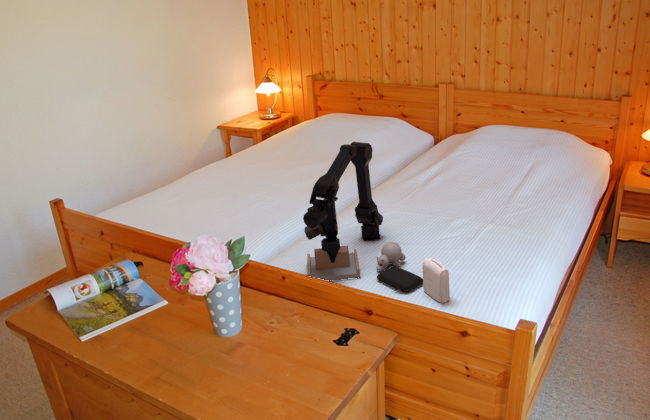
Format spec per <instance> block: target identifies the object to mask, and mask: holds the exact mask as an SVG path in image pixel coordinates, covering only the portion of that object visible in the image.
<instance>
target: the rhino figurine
mask: <svg viewBox="0 0 650 420" xmlns="http://www.w3.org/2000/svg"><path fill="white" fill-rule="evenodd" d="M380 254H381V255H380V256H377V255H376V256H375V258H376V262H377V265H376V266H375V268H376V270H377V271H378V272H380V271H381V272H382V271H384V270H386V268H387V266H389V265H391V263H392V266H398V267H400V265H401V262H402V261H403V262H404V261H405V260H406V258H407V257H406V255H405V254H404V253H403V252H402V248H401V246H400V245H399V243H397V242H395V241H388V242H386V243H384V244H383V245H382V247H381V250H380ZM381 272H380V273H381Z"/></svg>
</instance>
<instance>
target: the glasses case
mask: <svg viewBox="0 0 650 420" xmlns="http://www.w3.org/2000/svg"><path fill="white" fill-rule="evenodd" d="M313 250H314V252H313V253H314V257H315V263H316V270H320V269H330V268H340V267H350V259H349V253H350V250H349V245H340V249H339V251H338V254H337V256H336V259H335V262H334V263H331V261H330V259H329V256H328V253H327V252H326V251H323V250H322V247H321V248H320V247H319V248H314V249H313Z"/></svg>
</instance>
